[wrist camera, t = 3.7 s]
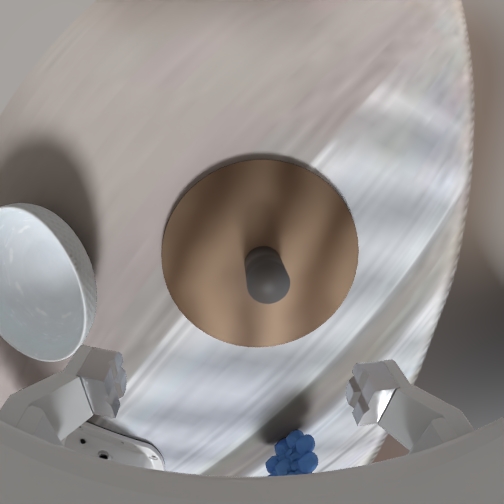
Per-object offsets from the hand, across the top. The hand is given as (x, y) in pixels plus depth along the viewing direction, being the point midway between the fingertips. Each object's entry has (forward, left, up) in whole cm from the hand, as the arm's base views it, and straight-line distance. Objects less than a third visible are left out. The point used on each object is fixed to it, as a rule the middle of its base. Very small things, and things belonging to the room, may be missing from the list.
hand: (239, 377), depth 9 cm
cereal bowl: (+21, +7, -21) cm, 30 cm away
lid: (-3, +3, -21) cm, 21 cm away
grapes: (-12, +32, -21) cm, 40 cm away
